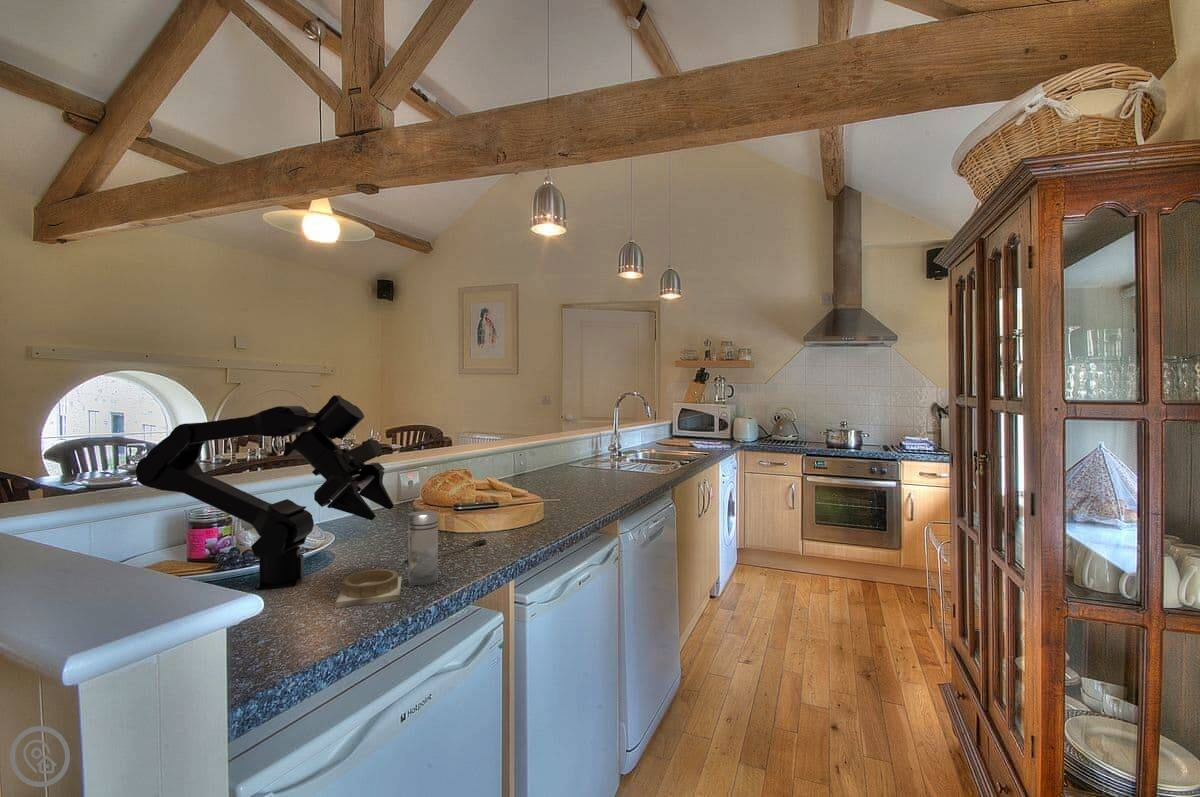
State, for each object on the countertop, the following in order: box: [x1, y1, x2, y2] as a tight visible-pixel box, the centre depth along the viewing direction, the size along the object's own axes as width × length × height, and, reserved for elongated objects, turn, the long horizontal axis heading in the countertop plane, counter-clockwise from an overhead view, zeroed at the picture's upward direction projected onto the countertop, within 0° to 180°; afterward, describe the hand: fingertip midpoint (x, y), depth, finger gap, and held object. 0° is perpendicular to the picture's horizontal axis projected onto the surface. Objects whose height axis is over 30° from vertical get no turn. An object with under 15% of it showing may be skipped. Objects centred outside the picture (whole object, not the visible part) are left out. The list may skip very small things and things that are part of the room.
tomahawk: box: [403, 539, 487, 565], centre depth 118 cm, size 21×7×1 cm, turn 140°
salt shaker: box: [407, 510, 439, 587], centre depth 101 cm, size 5×5×13 cm
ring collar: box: [335, 568, 403, 609], centre depth 95 cm, size 10×10×3 cm
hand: (383, 512), depth 101 cm, fingers open, 9 cm apart
